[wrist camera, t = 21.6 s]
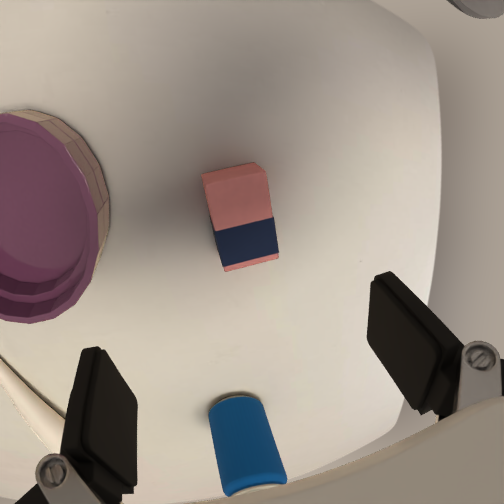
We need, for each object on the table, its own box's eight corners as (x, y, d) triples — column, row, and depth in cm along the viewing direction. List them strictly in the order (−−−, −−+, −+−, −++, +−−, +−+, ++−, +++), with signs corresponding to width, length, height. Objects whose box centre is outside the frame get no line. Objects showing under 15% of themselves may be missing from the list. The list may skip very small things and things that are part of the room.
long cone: (26, 324, 26) (107, 442, 34) (-9, 331, 26) (70, 442, 34) (1, 358, 21) (99, 476, 28) (-34, 361, 21) (61, 473, 28)
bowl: (-24, 92, 15) (-56, 95, 11) (139, 144, 21) (130, 154, 17) (-48, 259, 20) (-72, 283, 16) (87, 313, 25) (77, 347, 22)
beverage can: (226, 428, 37) (245, 510, 26) (196, 406, 33) (212, 499, 23) (270, 407, 36) (300, 490, 26) (245, 383, 33) (274, 478, 23)
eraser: (200, 174, 23) (203, 184, 20) (255, 161, 23) (266, 170, 20) (218, 252, 26) (224, 272, 23) (268, 240, 26) (279, 258, 23)
